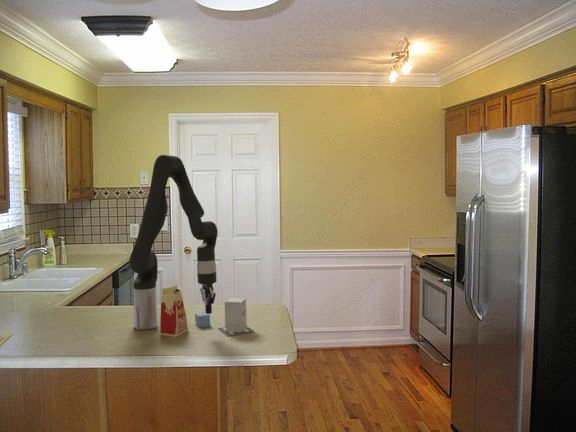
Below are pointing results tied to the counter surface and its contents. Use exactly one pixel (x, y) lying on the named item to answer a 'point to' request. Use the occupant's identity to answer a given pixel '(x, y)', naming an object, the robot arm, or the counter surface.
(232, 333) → the letter mat
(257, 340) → the counter surface
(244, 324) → the supplement box
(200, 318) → the slate blue cube
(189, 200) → the robot arm
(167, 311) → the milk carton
